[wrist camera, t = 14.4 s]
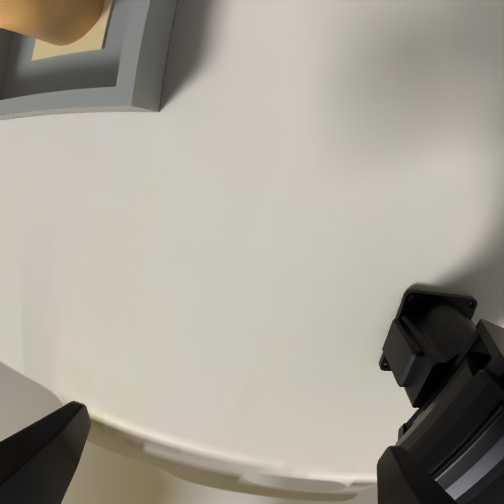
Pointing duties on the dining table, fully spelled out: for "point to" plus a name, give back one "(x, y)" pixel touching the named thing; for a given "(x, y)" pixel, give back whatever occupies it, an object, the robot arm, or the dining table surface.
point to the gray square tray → (90, 64)
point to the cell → (50, 18)
